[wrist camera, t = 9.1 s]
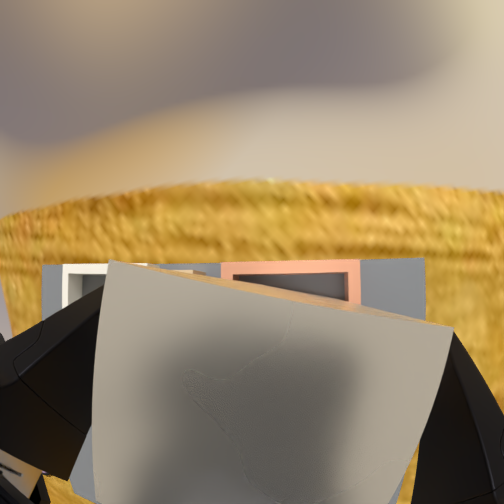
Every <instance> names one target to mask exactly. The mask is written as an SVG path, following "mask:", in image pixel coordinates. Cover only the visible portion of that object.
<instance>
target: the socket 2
mask: <svg viewBox="0 0 504 504" xmlns="http://www.w3.org/2000/svg"><path fill="white" fill-rule="evenodd" d="M313 274H344V287H345V301H348V302H351V303H355V304H359V305H361V280H360V259H341V260H303V261H260V262H221V278H222V279H229V280H235V281H239V276H262V275H313Z"/></svg>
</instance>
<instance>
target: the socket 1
mask: <svg viewBox="0 0 504 504" xmlns="http://www.w3.org/2000/svg"><path fill="white" fill-rule="evenodd" d="M132 264H138V265H143V266H149V267H155V268H160V266H159V265H153V264H148V263H132ZM107 268H108V264H63V273H62V309H63V308H64V307H66V306H68V305H69V304H71V303H73V302H74V301H76V300H78V299H79V298H81V297H82V282H83V275H106V274H107Z"/></svg>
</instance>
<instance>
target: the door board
mask: <svg viewBox="0 0 504 504" xmlns="http://www.w3.org/2000/svg"><path fill="white" fill-rule="evenodd" d="M153 265H159V266H160V268H161V269H167V270H173V271H179V272H185V273H191V274H197V275H203V276H210V277H216V278H221V263H200V264H153ZM62 273H63V265H43V266H42V321H43V320H45V319H46V318H48V317H49V316H51V315H53V314H54V313H56V312H58V311H59V310H61V309H62ZM105 279H106V275H83V282H82V297H83V296H85V295H86V294H88V293H90V292H92V291H93V290H95V289H97V288H98V287H100V286H102V285H104V284H105ZM360 280H361V305H363V306H367V307H371V308H375V309H379V310H383V311H387V312H391V313H395V314H399V315H403V316H408V317H412V318H416V319H420V320H424V321H425V312H426V294H425V263H424V258H402V259H371V260H360ZM239 281H242V282H249V283H256V284H262V285H267V286H273V287H278V288H283V289H288V290H293V291H298V292H304V293H309V294H314V295H320V296H325V297H330V298H336V299H340V300H344V301H345V287H344V274H313V275H262V276H239ZM404 474H405V473H404ZM403 478H404V475H403V477H402V479H401V481H400V483H399V485H398V487H397V489H396V491H395V492H394V494H393V496H392V498H391V500H390V501H389V503H388V504H396V502H397V499H398V496H399V492H400V489H401V485H402V482H403ZM69 479H70V482H71V485H72V487H73V490H74V493H75V494H77V495H79V496H81V497H83V498H85V499H88V500H90V501H92V502H94V503H96V504H101V503H99V502H98V501H96V497H95V487H94V474H93V456H92V425H91V427H90V429H89V432H88V434H87V437H86V439H85V441H84V444H83V446H82V448H81V451H80V453H79V455H78V458H77V460H76V463H75V465H74V468H73V470H72V472H71V475H70V477H69Z"/></svg>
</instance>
